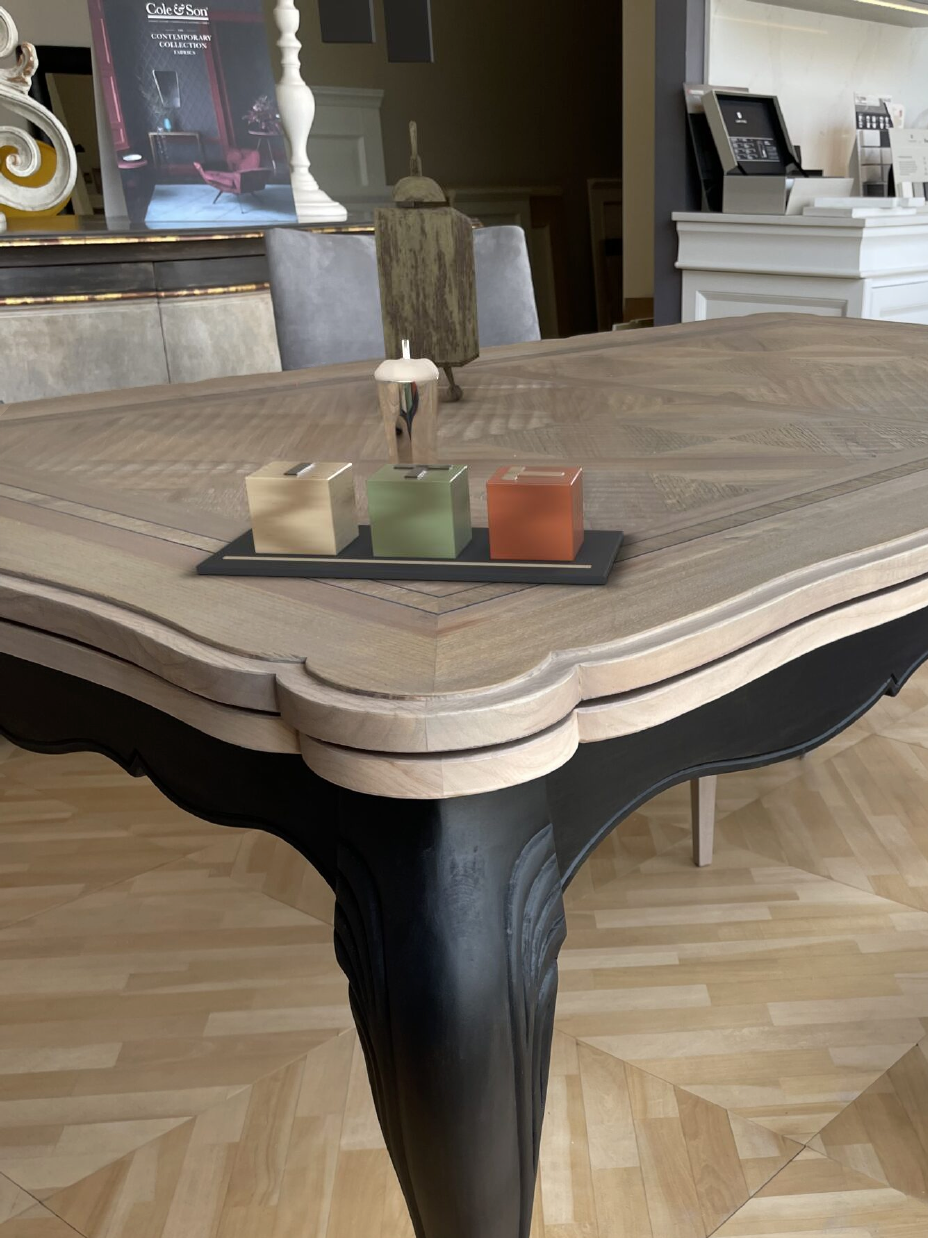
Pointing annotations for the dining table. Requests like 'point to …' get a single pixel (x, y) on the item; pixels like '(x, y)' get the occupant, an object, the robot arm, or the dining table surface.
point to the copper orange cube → (535, 513)
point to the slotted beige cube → (302, 507)
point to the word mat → (420, 562)
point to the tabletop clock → (427, 276)
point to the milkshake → (409, 408)
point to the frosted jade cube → (419, 510)
